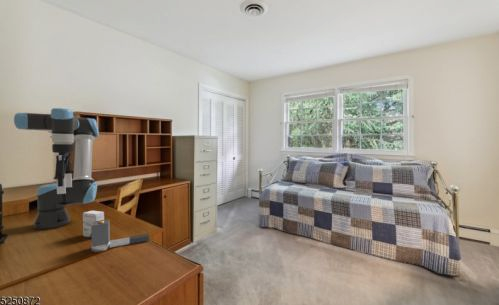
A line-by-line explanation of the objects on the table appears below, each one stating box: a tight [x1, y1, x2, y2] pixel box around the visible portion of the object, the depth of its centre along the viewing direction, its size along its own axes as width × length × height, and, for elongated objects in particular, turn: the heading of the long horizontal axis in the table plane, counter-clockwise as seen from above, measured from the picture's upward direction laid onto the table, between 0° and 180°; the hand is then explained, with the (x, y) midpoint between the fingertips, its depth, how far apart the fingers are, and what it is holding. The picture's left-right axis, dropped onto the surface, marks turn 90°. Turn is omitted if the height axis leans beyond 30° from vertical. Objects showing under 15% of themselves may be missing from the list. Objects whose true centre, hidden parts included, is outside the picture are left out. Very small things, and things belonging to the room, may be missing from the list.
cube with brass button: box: [91, 218, 111, 248], centre depth 97 cm, size 6×6×9 cm
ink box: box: [82, 210, 105, 238], centre depth 111 cm, size 8×5×12 cm, turn 74°
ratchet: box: [91, 233, 150, 253], centre depth 101 cm, size 22×7×6 cm, turn 118°
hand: (65, 190), depth 100 cm, fingers open, 13 cm apart
